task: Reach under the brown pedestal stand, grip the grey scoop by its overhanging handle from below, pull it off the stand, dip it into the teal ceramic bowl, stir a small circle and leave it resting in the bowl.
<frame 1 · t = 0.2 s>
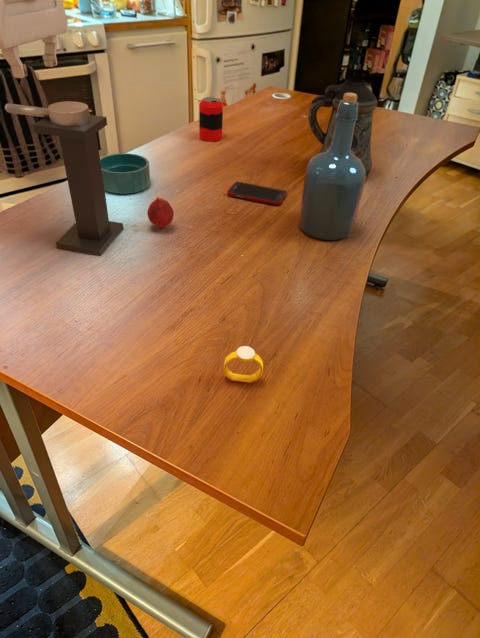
hand: (36, 71, 78), 33 cm above the table, tool pointing down, fingers open, 8 cm apart
beer stein: (336, 173, 137), on the table
wine bottle: (324, 228, 111), on the table
soda can: (210, 138, 154), on the table
brown pedestal stand: (91, 238, 101), on the table
cell phone: (256, 195, 122), on the table
bowl: (125, 184, 123), on the table
grey scoop: (38, 116, 86), point 25 cm above the table, touching brown pedestal stand
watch: (242, 380, 72), on the table
onion: (161, 228, 107), on the table
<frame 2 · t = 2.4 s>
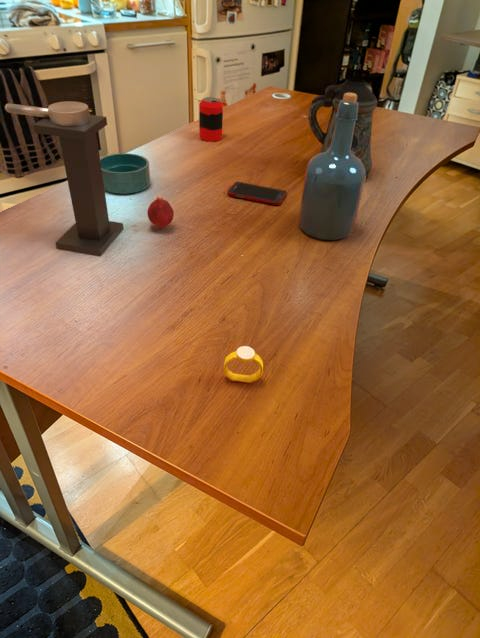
nothing on the table moved.
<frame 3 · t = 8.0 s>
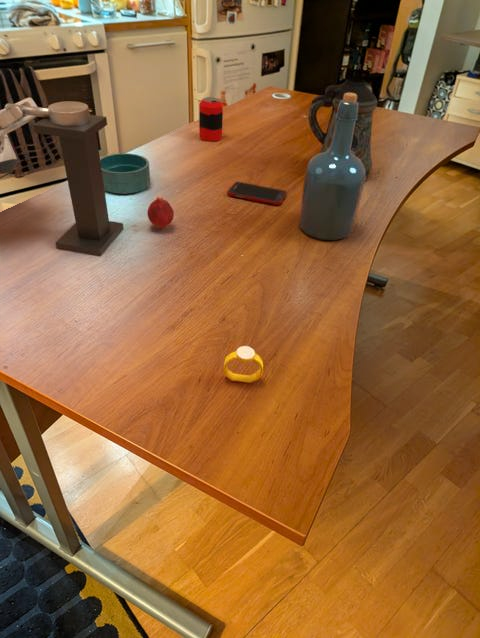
hand: (25, 107, 86), 26 cm above the table, tool pointing upward, fingers closed on grey scoop, 1 cm apart
grey scoop: (38, 116, 86), point 25 cm above the table, touching gripper, brown pedestal stand
everything else where it was.
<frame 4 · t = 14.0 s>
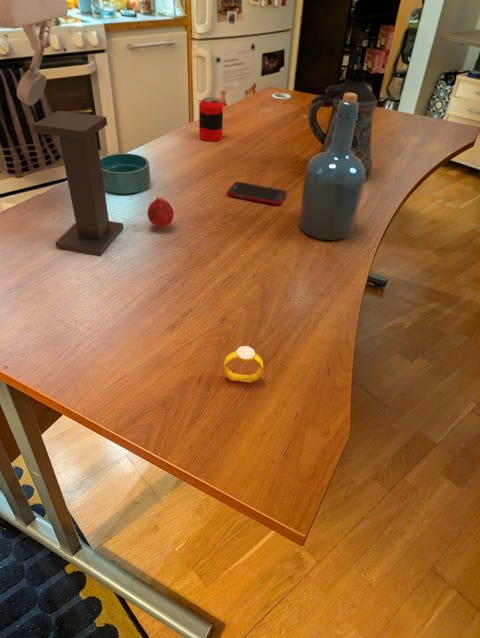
hand: (41, 48, 92), 33 cm above the table, tool pointing down, fingers closed on grey scoop
grey scoop: (33, 54, 93), point 32 cm above the table, tilted 119°, touching gripper
everything else where it was.
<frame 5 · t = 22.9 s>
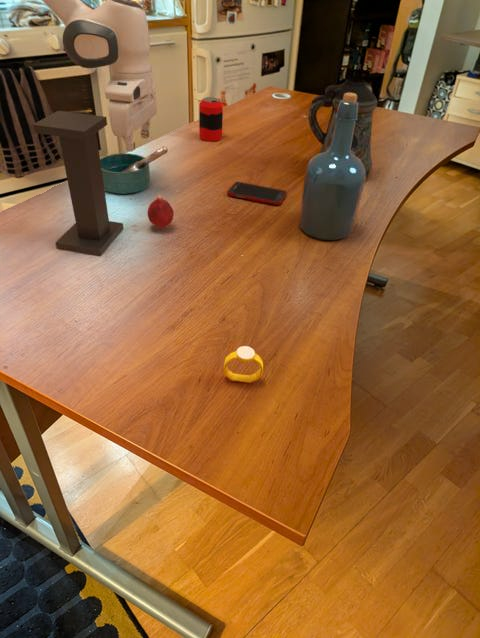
hand: (138, 143, 115), 12 cm above the table, tool pointing down, fingers open, 8 cm apart
grey scoop: (145, 157, 117), point 8 cm above the table, tilted 145°, touching bowl
everything else where it was.
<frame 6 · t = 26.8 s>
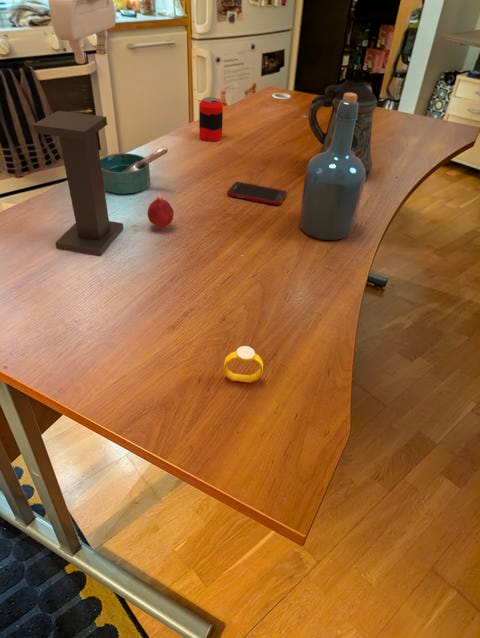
hand: (92, 58, 98), 31 cm above the table, tool pointing down, fingers open, 8 cm apart
nothing on the table moved.
at the end: grey scoop inside the target area on the bowl (4.5 cm from its centre), point 8.3 cm above the bowl's base; grey scoop touching bowl; the gripper is holding nothing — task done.
